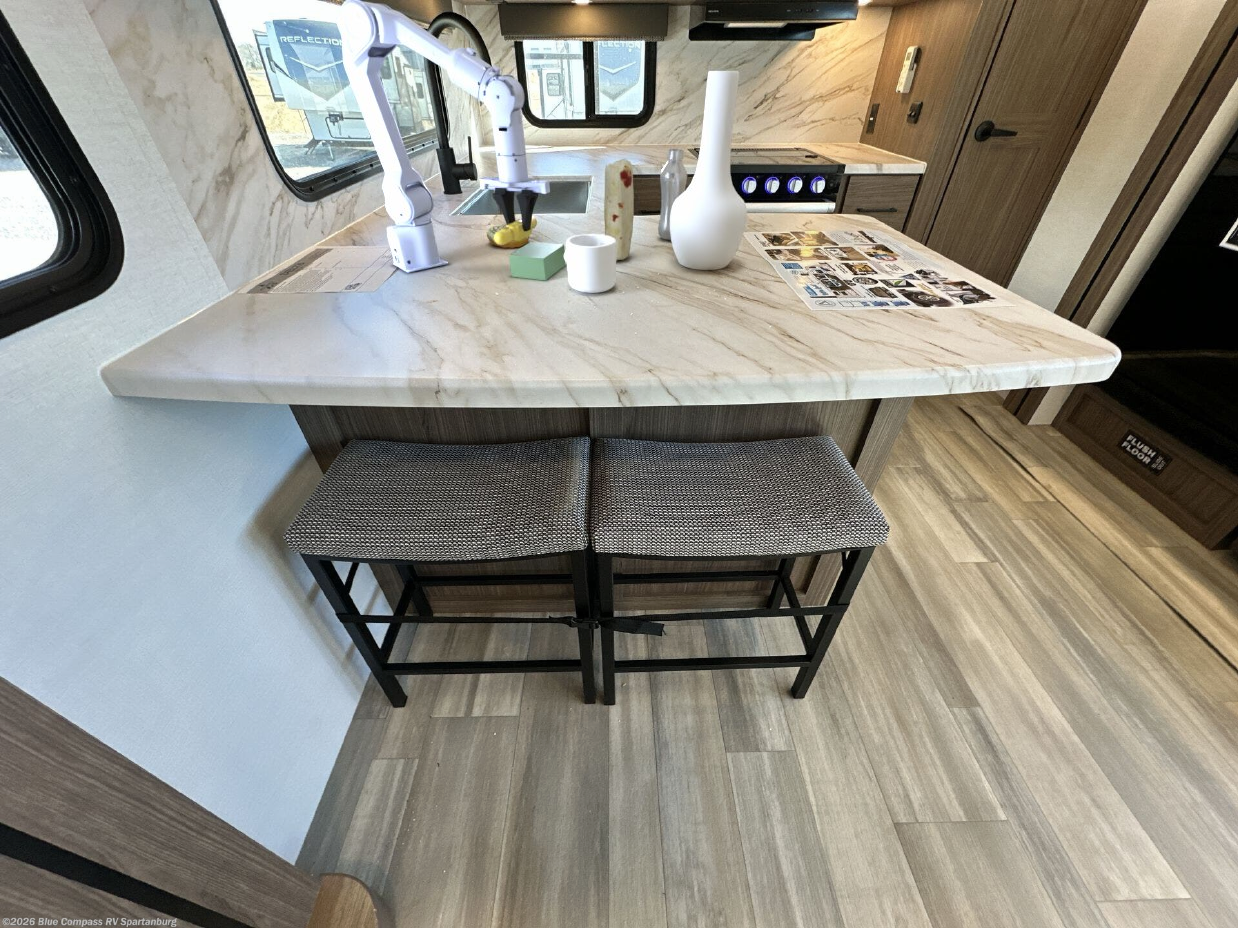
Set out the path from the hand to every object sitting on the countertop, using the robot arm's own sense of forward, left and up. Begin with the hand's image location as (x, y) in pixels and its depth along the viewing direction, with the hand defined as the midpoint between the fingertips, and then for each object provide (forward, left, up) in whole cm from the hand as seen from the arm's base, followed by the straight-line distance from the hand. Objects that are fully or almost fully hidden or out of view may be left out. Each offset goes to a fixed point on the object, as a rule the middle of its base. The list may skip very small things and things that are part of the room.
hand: (519, 229), depth 106 cm
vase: (+34, -22, -9) cm, 42 cm away
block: (+2, -2, -9) cm, 9 cm away
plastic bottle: (+43, -3, -9) cm, 45 cm away
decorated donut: (+9, +21, -9) cm, 24 cm away
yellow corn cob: (0, 0, -1) cm, 1 cm away
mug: (+5, -17, -9) cm, 20 cm away
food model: (+23, -6, -9) cm, 25 cm away
